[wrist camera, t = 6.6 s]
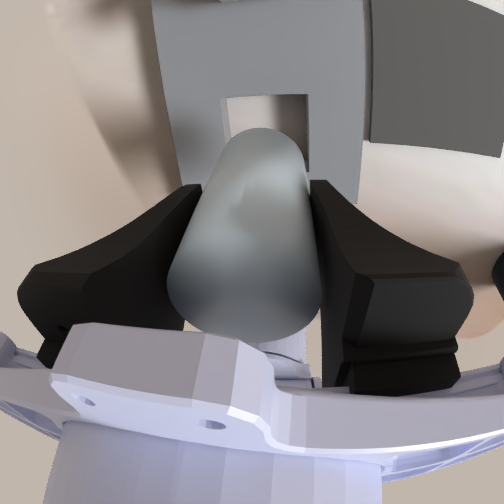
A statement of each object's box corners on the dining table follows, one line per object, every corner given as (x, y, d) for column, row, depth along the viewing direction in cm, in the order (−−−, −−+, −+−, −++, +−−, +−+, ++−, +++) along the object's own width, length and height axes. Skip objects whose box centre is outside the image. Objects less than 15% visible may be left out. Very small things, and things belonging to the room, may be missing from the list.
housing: (351, 190, 22) (364, 225, 18) (194, 193, 23) (177, 228, 20) (345, -73, 9) (361, -98, 6) (156, -57, 11) (126, -74, 7)
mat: (497, 155, 18) (500, 158, 17) (369, 140, 19) (370, 142, 19) (510, 19, 10) (513, 20, 10) (367, -24, 12) (369, -25, 11)
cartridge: (304, 204, 15) (315, 343, 9) (224, 206, 15) (186, 340, 9) (304, 126, 12) (328, 235, 6) (214, 130, 13) (147, 238, 7)
